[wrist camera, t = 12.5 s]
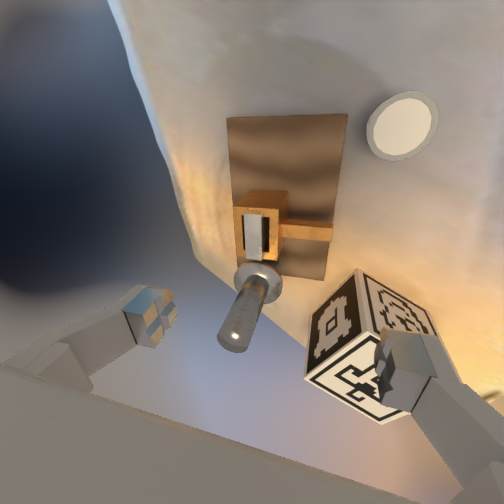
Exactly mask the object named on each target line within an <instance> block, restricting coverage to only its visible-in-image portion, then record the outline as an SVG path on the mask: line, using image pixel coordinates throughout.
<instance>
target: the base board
mask: <svg viewBox="0 0 504 504" xmlns="http://www.w3.org/2000/svg"><path fill="white" fill-rule="evenodd" d="M347 116H348V114H329V115H301V116H272V117H243V118H226V119H227V132H228V146H229V159H230V172H231V186H232V199H233V206H234V205H235V204H236V203H237V202H238V201H239V200H240V199H241V198H242V197H243V196H244V195H245V194H246V193H247V192H248V191H249V190H267V191H288V214H287V219H288V220H301V221H314V222H327V223H332V220H333V213H334V206H335V199H336V192H337V185H338V178H339V171H340V164H341V157H342V151H343V144H344V137H345V130H346V123H347ZM328 248H329V241H319V240H309V239H298V238H288V237H286V239H285V241H284V244H283V247H282V249H281V252H280V255H279V262H278V265H277V268H276V270H277V271H278V272H279V274H280V275H285V276H292V277H299V278H307V279H314V280H321V281H324V276H325V269H326V262H327V255H328ZM248 261H253V260H252V259H246V257H243V256H237V266H238V268H239V267H240V266H241V265H242V264H243V263H245V262H248Z"/></svg>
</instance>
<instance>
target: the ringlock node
mask: <svg viewBox="0 0 504 504" xmlns="http://www.w3.org/2000/svg"><path fill="white" fill-rule="evenodd" d="M246 211H260V212H263V217H270V228H269V238H268V240H267V242H266V244H265V246H264V257H263V259H262V261H260V260H253V261H248V262H245V263H243V264H242V265H241V266H240V267H239V268H238V269H237V271H236V273H235V275H234V285H235V288H236V289H237V291H238V292H239V294H238V296H237V298H236V300H235V302H234V304H233V306H232V307H231V309H230V311H229V313H228V315H227V317H226V319H225V321H224V323H223V325H222V327H221V329H220V331H219V333H218V335H217V339H218V342H219V343H220V345H221V346H222V347H224V348H225V349H227V350H228V351H231V352H234V353H242V352H244V351H246V350H247V348H248V346H249V343H250V340H251V337H252V335H253V332H254V329H255V326H256V323H257V321H258V318H259V315H260V312H261V310H262V307H263V304H268V303H271V302H274V301H275V300H276V299H277V298H278V297H279V296H280V294H281V291H282V287H283V281H282V278H281V275H280V274H279V272H278V271H277V270H276V268H277V265H278V262H279V255H280V252H281V249H282V247H283V244H284V241H285V239H286V237H288V238H298V239H309V240H319V241H329V242H331V239H332V232H333V223H327V222H314V221H301V220H288V219H287V214H288V191H267V190H249V191H248V192H247V193H246V194H245V195H244V196H243V197H242V198H241V199H240V200H239V201H238V202H237V203H236V204H235V205H234V206H233V217H234V231H235V244H236V256H243V257H246V248H245V230H244V213H245V212H246Z"/></svg>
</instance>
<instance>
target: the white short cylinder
mask: <svg viewBox="0 0 504 504" xmlns="http://www.w3.org/2000/svg"><path fill="white" fill-rule="evenodd" d="M438 120H439V112H438V109H437V106H436V103H435V101H434V100H432V99H431V98H430V97H429V96H428V95H427V94H425V93H421V92H416V91H408V92H403V93H399V94H396V95H394V96H393V97H391V98H390V99H388V100H386V101H385V102H383V103H382V104H381V105H380V106H379V107H377V108H376V110H375V111H374V112H373V113H372V114H371V116H370V117H369V120H368V122H367V125H366V136H367V141H368V144H369V146H370V148H371V151H372V152H373V153H374V154H376V155H377V156H378V157H379V158H381V159H384V160H389V161H399V160H405V159H408V158H410V157H412V156H414V155H416V154H418V153H419V152H420V151H421V150H422V149H423V148H424V147H425V146H426V145H428V144H429V143H430V141H431V139H432V138H433V136H434V134H435V132H436V130H437V128H438Z"/></svg>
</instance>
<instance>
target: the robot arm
mask: <svg viewBox="0 0 504 504" xmlns="http://www.w3.org/2000/svg"><path fill="white" fill-rule="evenodd" d="M173 298H174V297H173V293H172V291H170V290H167V289H162V288H157V287H152V286H146V285H136V286H135V287H134V288H132V289H131V290H130V291H129V292H128V293H127V294H126V295H124V296H123V297H122V298H121V299H120V300H119V301H117V302H116V303H115V304H114V305H113V306H112V307H111V308H105V309H103V310H100V311H98V312H95V313H93V314H90V315H88V316H85V317H83V318H80V319H78V320H75V321H73V322H71V323H68V324H65V325H63V326H61V327H58V328H55V329H53V330H51V331H48V332H46V333H43V334H41V335H39V336H37V337H36V338H35V339H34V340H32V341H31V342H29V343H28V344H27V345H25V346H24V347H23V348H22V349H20V350H19V351H18V352H16V353H15V354H14V355H13V356H11V357H10V358H8V359H7V360H6V361H4V362H3V363H0V504H422V503H419V502H416V501H413V500H410V499H407V498H404V497H401V496H398V495H395V494H392V493H389V492H386V491H383V490H380V489H377V488H374V487H371V486H368V485H365V484H362V483H359V482H356V481H353V480H350V479H347V478H344V477H341V476H338V475H335V474H332V473H329V472H326V471H323V470H320V469H317V468H314V467H311V466H308V465H305V464H302V463H299V462H296V461H293V460H290V459H287V458H284V457H281V456H278V455H275V454H272V453H269V452H266V451H263V450H260V449H257V448H254V447H251V446H248V445H245V444H242V443H239V442H236V441H233V440H230V439H227V438H224V437H221V436H218V435H215V434H212V433H209V432H206V431H203V430H200V429H197V428H194V427H191V426H188V425H185V424H182V423H179V422H176V421H173V420H170V419H167V418H164V417H161V416H158V415H155V414H152V413H149V412H146V411H143V410H140V409H137V408H134V407H131V406H128V405H125V404H122V403H119V402H116V401H113V400H110V399H107V398H104V397H101V396H98V395H95V394H92V393H90V392H91V391H92V389H93V384H92V382H91V380H90V379H89V376H90V375H92V374H94V373H95V372H96V371H98V370H100V369H101V368H103V367H104V366H106V365H107V364H109V363H111V362H112V361H114V360H115V359H117V358H118V357H120V356H121V355H123V354H124V353H126V352H127V351H129V350H130V349H132V348H134V347H135V346H136V344H137V345H141V346H146V347H151V348H155V347H156V346H157V345H158V343H159V342H160V341H161V339H162V338H163V336H164V331H165V330H166V329H168V328H170V327H171V326H172V324H173V323H174V321H175V319H176V316H177V308H176V305H175V304H174V303H173V302H172V300H173ZM380 340H381V342H379V343H377V344H376V348H375V352H374V368H375V372H376V374H377V375H378V376H379V377H380V378H379V381H378V384H377V386H378V392H379V398H380V404H381V405H383V406H387V407H390V408H394V409H398V410H401V411H405V412H408V413H411V415H412V417H413V418H414V420H415V421H416V422H417V424H418V425H419V427H420V428H421V429H422V431H423V432H424V434H425V435H426V436H427V438H428V439H429V441H430V442H431V443H432V445H433V446H434V448H435V449H436V450H437V452H438V453H439V454H440V456H441V457H442V459H443V460H444V462H445V463H446V464H447V466H448V467H449V469H450V470H451V471H452V473H453V474H454V476H455V477H456V478H457V480H458V481H459V483H460V484H461V485H462V487H463V489H462V490H461V491H460V492H459V493H458V494H457V495H456V496H455V497H454V498H453V499H452V500H451V501H450V502H449V503H448V504H504V417H503V416H502V415H501V414H500V413H498V412H497V411H496V410H495V409H494V408H493V407H492V406H491V405H489V404H488V403H487V402H486V401H485V400H484V399H483V398H481V397H480V396H479V395H478V394H477V393H476V392H475V391H473V390H472V389H471V388H470V387H469V386H468V385H467V384H463V383H460V381H459V379H458V377H457V375H456V373H455V371H454V369H453V367H452V365H451V363H450V361H449V359H448V356H447V354H446V352H445V350H444V348H443V346H442V344H441V342H440V340H439V338H438V337H437V336H436V335H430V334H424V333H416V332H411V331H405V330H399V329H393V328H387V327H383V328H382V329H381V332H380Z"/></svg>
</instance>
